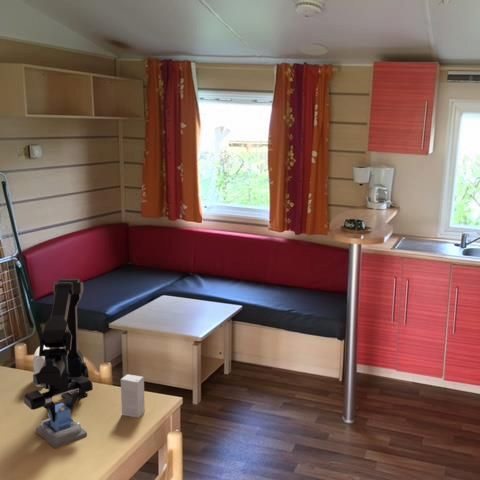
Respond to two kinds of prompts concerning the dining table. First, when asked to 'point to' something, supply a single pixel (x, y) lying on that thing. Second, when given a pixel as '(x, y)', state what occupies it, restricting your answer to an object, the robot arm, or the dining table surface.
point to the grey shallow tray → (60, 433)
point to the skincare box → (132, 395)
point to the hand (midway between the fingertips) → (60, 418)
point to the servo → (61, 417)
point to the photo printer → (38, 362)
